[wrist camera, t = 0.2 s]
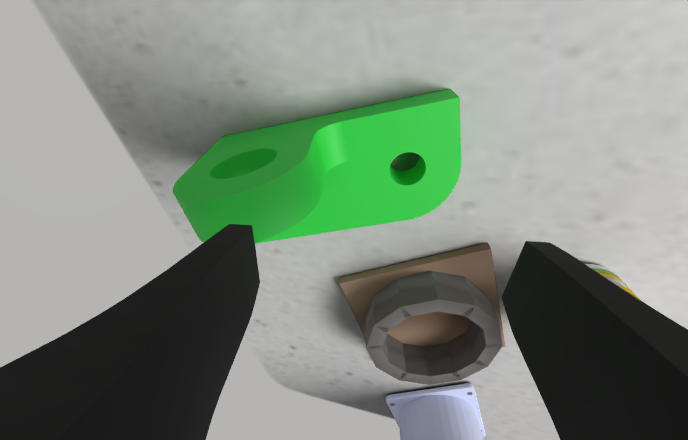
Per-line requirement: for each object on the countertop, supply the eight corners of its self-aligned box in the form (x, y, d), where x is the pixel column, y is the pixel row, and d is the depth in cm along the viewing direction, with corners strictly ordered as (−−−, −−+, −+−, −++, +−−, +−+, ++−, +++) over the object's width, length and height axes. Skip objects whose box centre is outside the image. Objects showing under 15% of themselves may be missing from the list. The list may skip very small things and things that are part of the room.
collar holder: (502, 339, 26) (518, 376, 23) (379, 360, 28) (381, 397, 25) (487, 242, 21) (505, 276, 18) (339, 277, 23) (336, 312, 20)
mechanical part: (261, 224, 21) (216, 326, 14) (224, 135, 18) (144, 211, 11) (453, 193, 19) (503, 292, 13) (449, 87, 16) (511, 145, 9)
